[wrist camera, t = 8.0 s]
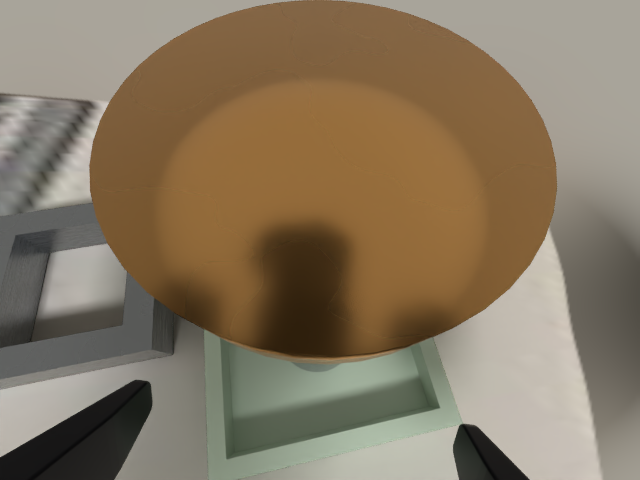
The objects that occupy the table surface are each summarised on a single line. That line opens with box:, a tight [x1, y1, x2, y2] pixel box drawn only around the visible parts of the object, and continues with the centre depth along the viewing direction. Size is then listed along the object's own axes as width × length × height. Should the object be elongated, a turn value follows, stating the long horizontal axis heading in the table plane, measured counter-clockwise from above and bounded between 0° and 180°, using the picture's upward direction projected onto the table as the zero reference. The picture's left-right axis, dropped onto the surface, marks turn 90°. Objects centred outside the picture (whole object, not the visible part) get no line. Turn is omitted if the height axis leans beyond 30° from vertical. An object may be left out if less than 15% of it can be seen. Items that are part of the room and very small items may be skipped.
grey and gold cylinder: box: [89, 0, 557, 372], centre depth 11 cm, size 6×6×15 cm
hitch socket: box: [0, 203, 174, 389], centre depth 18 cm, size 10×10×2 cm
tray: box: [204, 329, 463, 480], centre depth 17 cm, size 12×12×2 cm
